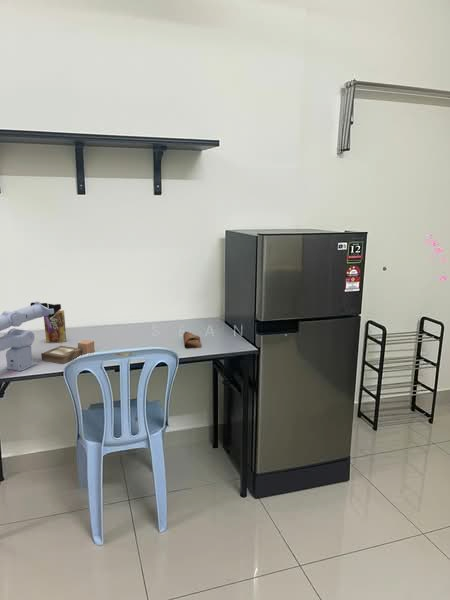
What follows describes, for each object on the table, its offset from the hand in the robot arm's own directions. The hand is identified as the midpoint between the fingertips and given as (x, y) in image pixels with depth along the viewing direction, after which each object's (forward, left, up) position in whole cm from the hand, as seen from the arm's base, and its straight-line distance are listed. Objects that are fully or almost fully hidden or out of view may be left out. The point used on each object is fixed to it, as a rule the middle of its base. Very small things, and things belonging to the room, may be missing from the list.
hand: (53, 305), depth 198 cm
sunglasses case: (+36, -51, -22) cm, 66 cm away
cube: (+5, -13, -22) cm, 26 cm away
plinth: (-5, -8, -22) cm, 24 cm away
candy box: (+13, +12, -22) cm, 28 cm away
